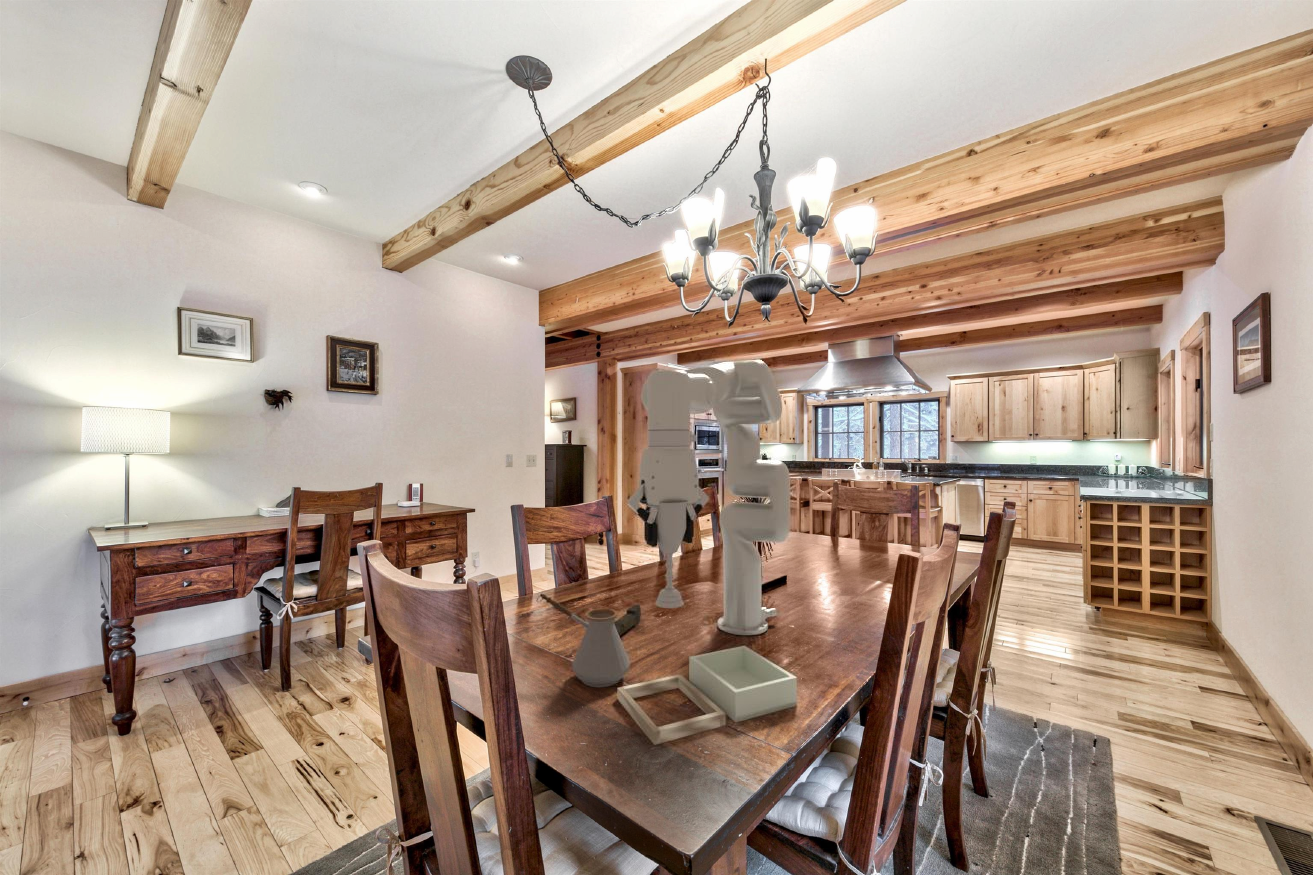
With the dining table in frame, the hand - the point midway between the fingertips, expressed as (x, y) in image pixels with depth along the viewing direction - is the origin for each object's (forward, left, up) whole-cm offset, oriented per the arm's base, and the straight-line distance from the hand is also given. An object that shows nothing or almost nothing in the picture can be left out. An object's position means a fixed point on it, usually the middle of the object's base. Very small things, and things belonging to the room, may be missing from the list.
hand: (669, 542), depth 90 cm
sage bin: (-15, 0, -29) cm, 33 cm away
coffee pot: (+10, -21, -30) cm, 38 cm away
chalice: (0, 0, -11) cm, 11 cm away
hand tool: (-7, -40, -30) cm, 50 cm away
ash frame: (0, 0, -29) cm, 29 cm away
